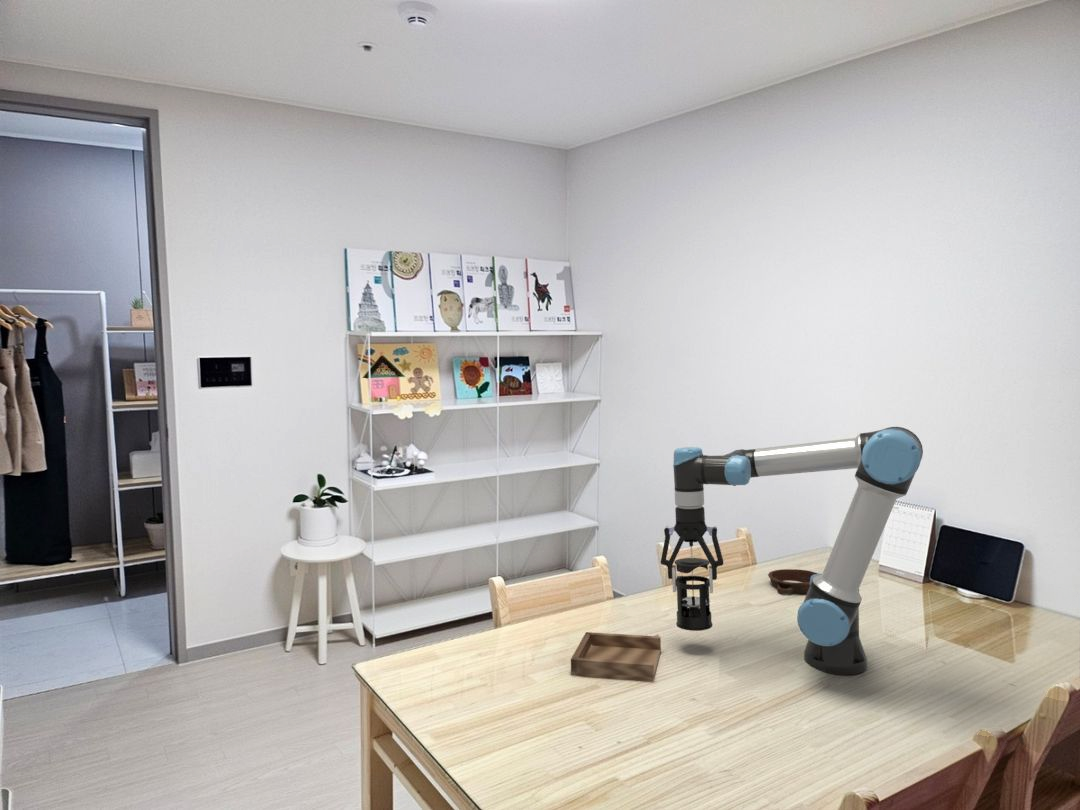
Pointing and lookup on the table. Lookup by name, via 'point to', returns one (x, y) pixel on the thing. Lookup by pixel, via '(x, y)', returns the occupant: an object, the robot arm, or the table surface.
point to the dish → (791, 575)
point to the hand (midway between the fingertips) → (693, 591)
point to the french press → (698, 609)
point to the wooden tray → (617, 656)
